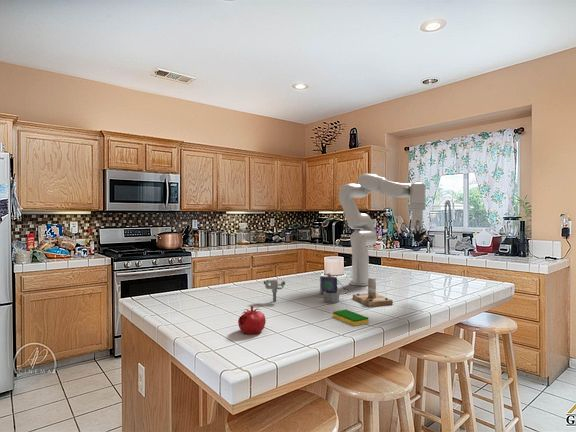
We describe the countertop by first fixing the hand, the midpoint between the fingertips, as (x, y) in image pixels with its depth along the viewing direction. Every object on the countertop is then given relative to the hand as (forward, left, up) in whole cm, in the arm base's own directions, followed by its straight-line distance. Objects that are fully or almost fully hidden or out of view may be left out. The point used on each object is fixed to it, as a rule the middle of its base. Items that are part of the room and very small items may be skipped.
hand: (417, 240), depth 183 cm
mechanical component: (-11, -73, -28) cm, 79 cm away
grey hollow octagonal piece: (-3, -47, -28) cm, 55 cm away
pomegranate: (+27, -92, -28) cm, 100 cm away
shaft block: (+4, -29, -28) cm, 40 cm away
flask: (-17, -42, -28) cm, 53 cm away
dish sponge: (+26, -52, -28) cm, 65 cm away
